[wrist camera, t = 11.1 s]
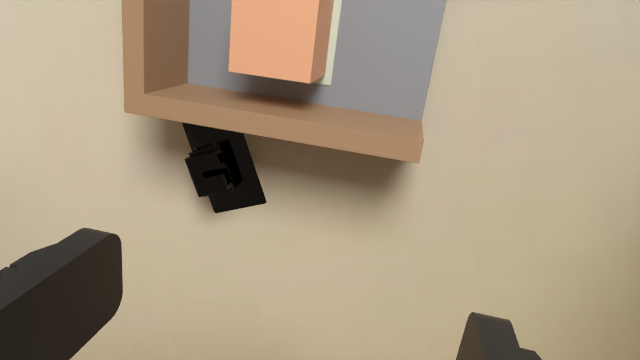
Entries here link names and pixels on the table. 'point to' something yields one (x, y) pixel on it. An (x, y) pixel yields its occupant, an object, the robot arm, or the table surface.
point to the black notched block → (222, 168)
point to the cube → (280, 38)
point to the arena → (284, 95)
